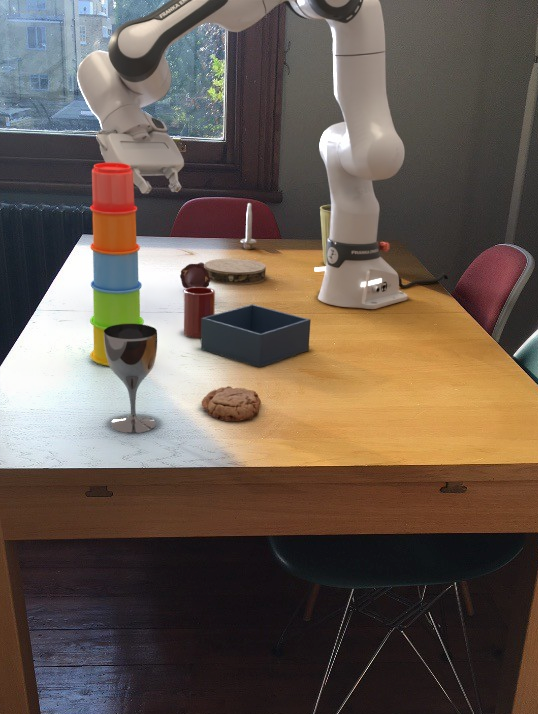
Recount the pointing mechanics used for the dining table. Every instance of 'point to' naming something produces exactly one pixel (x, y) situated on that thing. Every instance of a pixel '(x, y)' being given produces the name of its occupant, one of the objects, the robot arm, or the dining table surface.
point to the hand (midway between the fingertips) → (162, 191)
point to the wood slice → (235, 271)
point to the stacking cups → (113, 253)
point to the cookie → (231, 403)
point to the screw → (248, 229)
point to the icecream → (195, 276)
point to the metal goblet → (131, 367)
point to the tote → (255, 335)
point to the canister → (197, 309)
